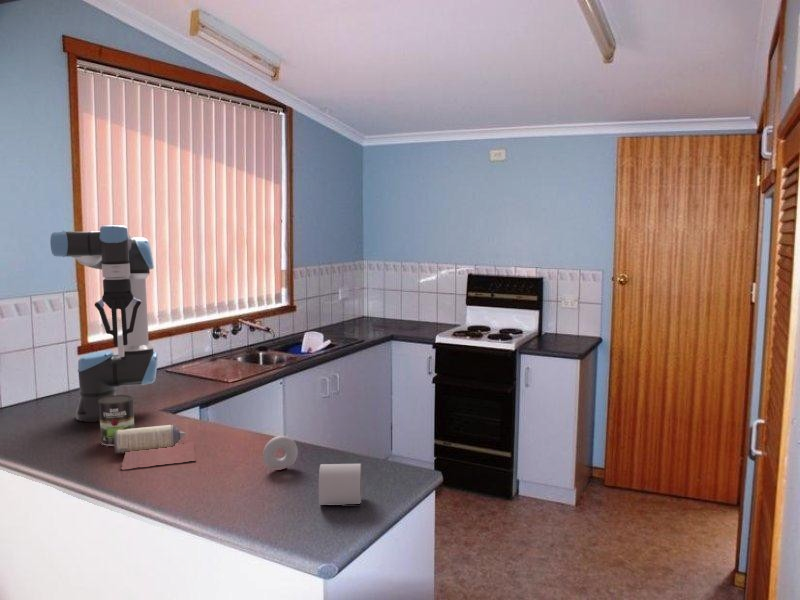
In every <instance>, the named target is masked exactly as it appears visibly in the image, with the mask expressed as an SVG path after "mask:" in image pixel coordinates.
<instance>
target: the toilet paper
mask: <svg viewBox="0 0 800 600" xmlns="http://www.w3.org/2000/svg"><path fill="white" fill-rule="evenodd" d="M318 472H319V473H318V503H319V506H320V505H321V504H322V505H324V504H360V503H361V504H362V463H322V464H319V470H318Z"/></svg>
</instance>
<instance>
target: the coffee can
mask: <svg viewBox="0 0 800 600" xmlns="http://www.w3.org/2000/svg"><path fill="white" fill-rule="evenodd" d="M98 403H99V415H100V421H99V426H100V429H99V430H100V444H101V443H102V444H104V445H114V432H115V430H123V429H133V428H135V414H134V412H135V411H134V396H132V395H128V394H116V395H114V396H108V397H104V398H102V399H100V400H99V401H98ZM102 444H101V445H102Z"/></svg>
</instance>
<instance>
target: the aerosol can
mask: <svg viewBox="0 0 800 600" xmlns="http://www.w3.org/2000/svg"><path fill="white" fill-rule="evenodd" d="M183 438H186V432H185V431H182V430H180V429H179V428H178V427H175V425H174V424H166V425H155V426H145V427H134V428H133V429H123V430H115V432H114V452H115V454H117V453H118V454H119V453H120V452H121V453H124V452H130V451H139V450H149V449H158V448H167V447H173V446H175V444H178V443H180V441H181V440H182V439H183Z"/></svg>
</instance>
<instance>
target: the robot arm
mask: <svg viewBox="0 0 800 600" xmlns="http://www.w3.org/2000/svg"><path fill="white" fill-rule="evenodd" d="M128 233H129V232H128V226H125V225H122V224H121V225H120V224H117V225H115V224H114V225H112V224H111V225H109V224H108V225H102V226H100V228H99V231H98V230H91V231H89V230H88V231H66V230H62V231H53V232H52V233H51V234H50V242H49V243H50V245H49V246H50V251H51V254H52V255H53V256H54V257H58V258H59V257H60V258H61V257H62V258H65V257H67V258H69V257H72V258H74V259H75V260H76V261H77V262H78V263H79V264H80V265H82V266H84V267H87V268H91V269H96V270H101V271H102V278H104V279H102V286H103V289H102V290H103V294H102V296H101V299H100V300H98V301H96V302H95V303H94V307H95V308H96V309H97V310H98V313H99V316H100V318H101V321H102V323H103V327H104V329H105V330H104V331H105V332H106V334H108V335H111V336H112V341H113V346H114V347H117V352H118V354H114V352H113V351H112V350H100V351H95V352H92V353H88V354H85V355H83V356H81V357H80V358H79V359H78V361H77V363H78V364H77V367H78V368H77V372H78V382H79V383H78V385H79V396H80V397H79V401H78V405H77V408H76V412H75V419H76V421H78V420H79V421H78V422H82V421H84V422H83V423H94V422H95V423H96V422H97V421H98V422H100V415H99V403H98V401H99V400H100V399H102V398H104V397H108V396H114V395H117V394H116V388H117V387H130V386H145V385H150V384H153V383H154V382H155V381H156V377H157V367H158V358H159V356H158V355H159V354H158V352H156V351H154V346H152V345H151V344H150V343H149V323H148V321H149V320H148V304H147V288H146V287H147V283H146V281H147V278H148V276H149V275H151V273H150V270H154V260H153V255H152V254H153V253H152V250H151V245H150V242H149V239H147V238H145V237H135V236H133V237H131V236H130V235H129V234H128ZM105 305H106V306H107V307H108V308H109V309H110V310H111V323H112V325H111V326H112V327H111V326H110V322H109V320H108V317H107V314H106V311H105V308H104V306H105ZM117 310H120V316H121V318H120V319H121V333H118V332H119V330H118V329H119V328H118V315H117V314H118V313H117Z"/></svg>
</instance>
